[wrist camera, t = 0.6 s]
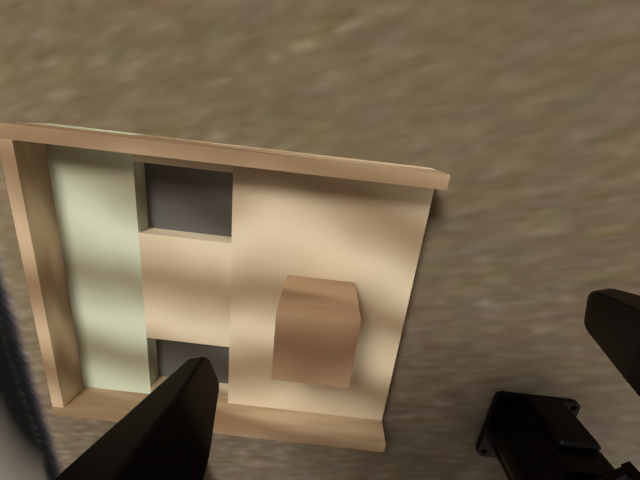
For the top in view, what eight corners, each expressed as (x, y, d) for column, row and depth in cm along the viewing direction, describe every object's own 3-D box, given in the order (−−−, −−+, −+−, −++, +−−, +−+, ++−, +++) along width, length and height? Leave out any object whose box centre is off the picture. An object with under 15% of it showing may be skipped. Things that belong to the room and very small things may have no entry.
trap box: (377, 412, 27) (383, 452, 23) (89, 379, 27) (54, 415, 23) (430, 167, 20) (450, 175, 17) (49, 123, 20) (-7, 121, 17)
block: (345, 339, 23) (349, 388, 18) (282, 332, 23) (271, 379, 18) (355, 282, 21) (361, 320, 17) (287, 275, 21) (276, 311, 17)
